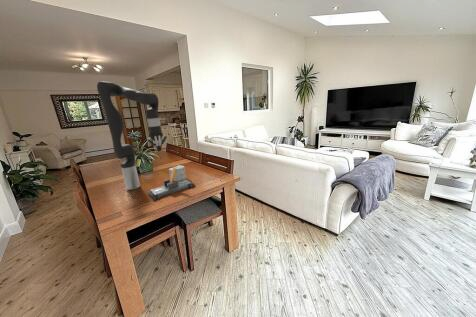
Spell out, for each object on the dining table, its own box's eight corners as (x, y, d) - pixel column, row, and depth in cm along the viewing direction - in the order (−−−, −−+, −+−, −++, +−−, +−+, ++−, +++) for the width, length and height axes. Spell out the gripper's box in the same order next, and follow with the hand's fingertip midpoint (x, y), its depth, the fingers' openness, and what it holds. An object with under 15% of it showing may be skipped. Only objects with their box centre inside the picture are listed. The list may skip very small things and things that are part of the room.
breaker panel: (151, 193, 133) (149, 184, 131) (186, 182, 148) (184, 174, 146) (155, 198, 125) (153, 189, 123) (191, 186, 141) (190, 177, 139)
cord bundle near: (148, 193, 133) (147, 191, 133) (153, 191, 136) (153, 189, 135) (154, 201, 122) (153, 198, 122) (160, 199, 125) (160, 196, 124)
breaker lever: (168, 185, 137) (172, 167, 136) (171, 185, 138) (174, 167, 137) (170, 186, 133) (174, 168, 133) (173, 187, 135) (177, 168, 134)
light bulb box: (181, 176, 161) (179, 164, 157) (186, 178, 157) (184, 166, 154) (170, 181, 152) (168, 168, 149) (175, 183, 149) (173, 170, 145)
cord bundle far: (182, 182, 149) (182, 180, 148) (187, 181, 151) (187, 179, 150) (191, 188, 137) (190, 186, 137) (196, 186, 140) (195, 184, 139)
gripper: (162, 123, 131) (167, 148, 136) (142, 126, 123) (147, 152, 128) (166, 124, 125) (170, 150, 130) (145, 127, 117) (150, 154, 122)
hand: (159, 151), depth 129 cm, fingers closed
